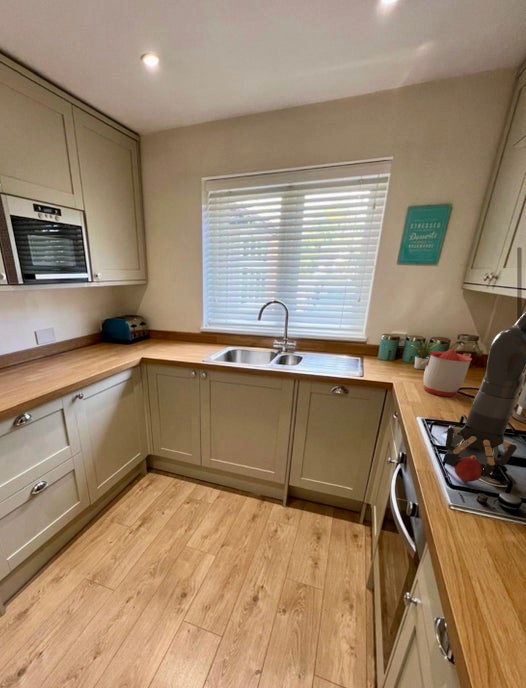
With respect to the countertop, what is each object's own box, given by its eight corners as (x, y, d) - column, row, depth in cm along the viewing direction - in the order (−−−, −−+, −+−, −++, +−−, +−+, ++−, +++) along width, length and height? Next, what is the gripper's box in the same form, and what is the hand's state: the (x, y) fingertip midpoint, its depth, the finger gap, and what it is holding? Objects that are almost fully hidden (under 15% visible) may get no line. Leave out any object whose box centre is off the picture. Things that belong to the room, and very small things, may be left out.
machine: (451, 441, 106) (456, 428, 104) (495, 454, 100) (501, 440, 98) (443, 462, 94) (448, 447, 93) (491, 478, 88) (498, 462, 86)
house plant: (425, 364, 192) (433, 336, 185) (441, 371, 179) (450, 342, 173) (401, 364, 191) (409, 336, 185) (416, 371, 178) (424, 341, 172)
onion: (445, 475, 89) (454, 449, 85) (464, 474, 89) (474, 448, 86) (462, 489, 83) (472, 462, 80) (483, 488, 84) (494, 461, 81)
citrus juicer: (416, 383, 160) (428, 342, 153) (459, 391, 151) (474, 348, 143) (412, 392, 148) (425, 348, 141) (459, 401, 139) (475, 355, 132)
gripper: (530, 415, 77) (504, 475, 83) (457, 398, 85) (438, 454, 92) (531, 425, 71) (502, 489, 78) (452, 406, 80) (432, 465, 87)
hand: (467, 469), depth 85 cm, fingers closed on onion, 6 cm apart
